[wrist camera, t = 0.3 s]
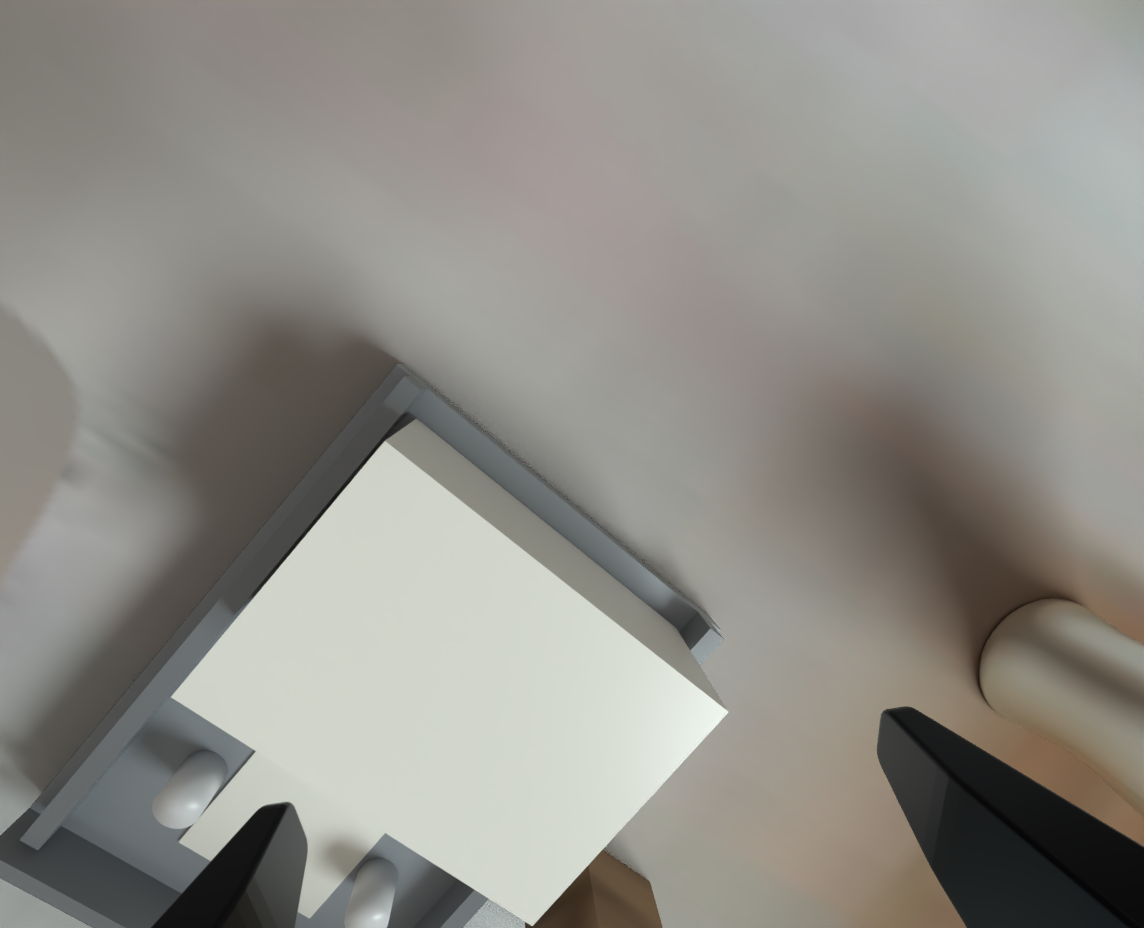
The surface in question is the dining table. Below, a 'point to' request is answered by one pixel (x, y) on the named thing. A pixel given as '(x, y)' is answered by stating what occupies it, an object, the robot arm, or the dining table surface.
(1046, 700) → the beer glass
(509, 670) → the cover
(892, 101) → the dining table surface
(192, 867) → the housing base
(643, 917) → the walnut block
